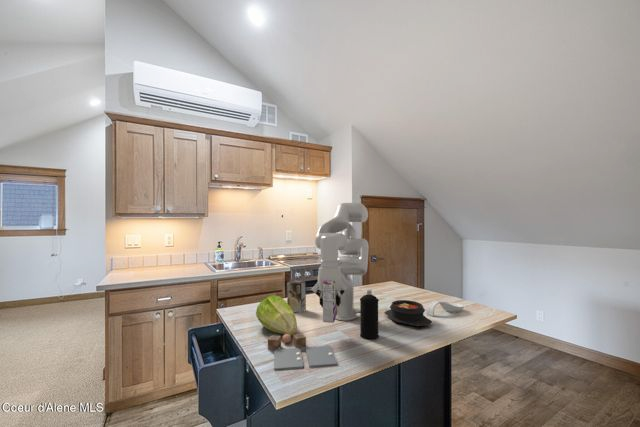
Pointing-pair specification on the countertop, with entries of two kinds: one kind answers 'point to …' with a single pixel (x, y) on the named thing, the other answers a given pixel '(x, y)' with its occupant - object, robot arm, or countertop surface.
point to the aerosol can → (369, 316)
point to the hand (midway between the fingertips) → (330, 305)
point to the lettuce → (277, 315)
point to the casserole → (408, 313)
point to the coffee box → (296, 295)
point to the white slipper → (444, 307)
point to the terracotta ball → (286, 338)
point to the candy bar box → (329, 302)
